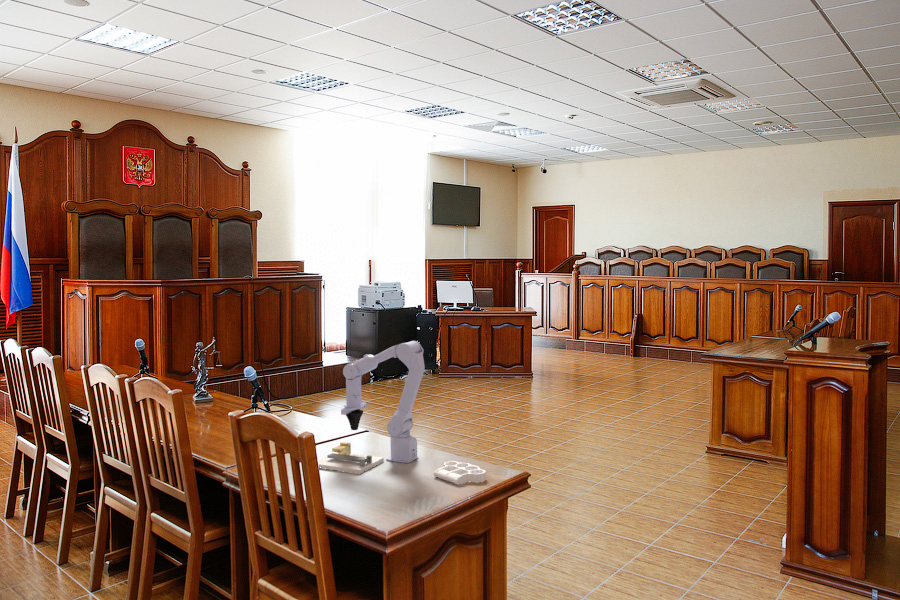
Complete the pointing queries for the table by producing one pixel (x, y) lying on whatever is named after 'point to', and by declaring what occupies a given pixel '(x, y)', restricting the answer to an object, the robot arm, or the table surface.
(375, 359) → the robot arm
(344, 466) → the board
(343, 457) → the dark grey flat bar
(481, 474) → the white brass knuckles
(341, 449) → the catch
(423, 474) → the table surface
